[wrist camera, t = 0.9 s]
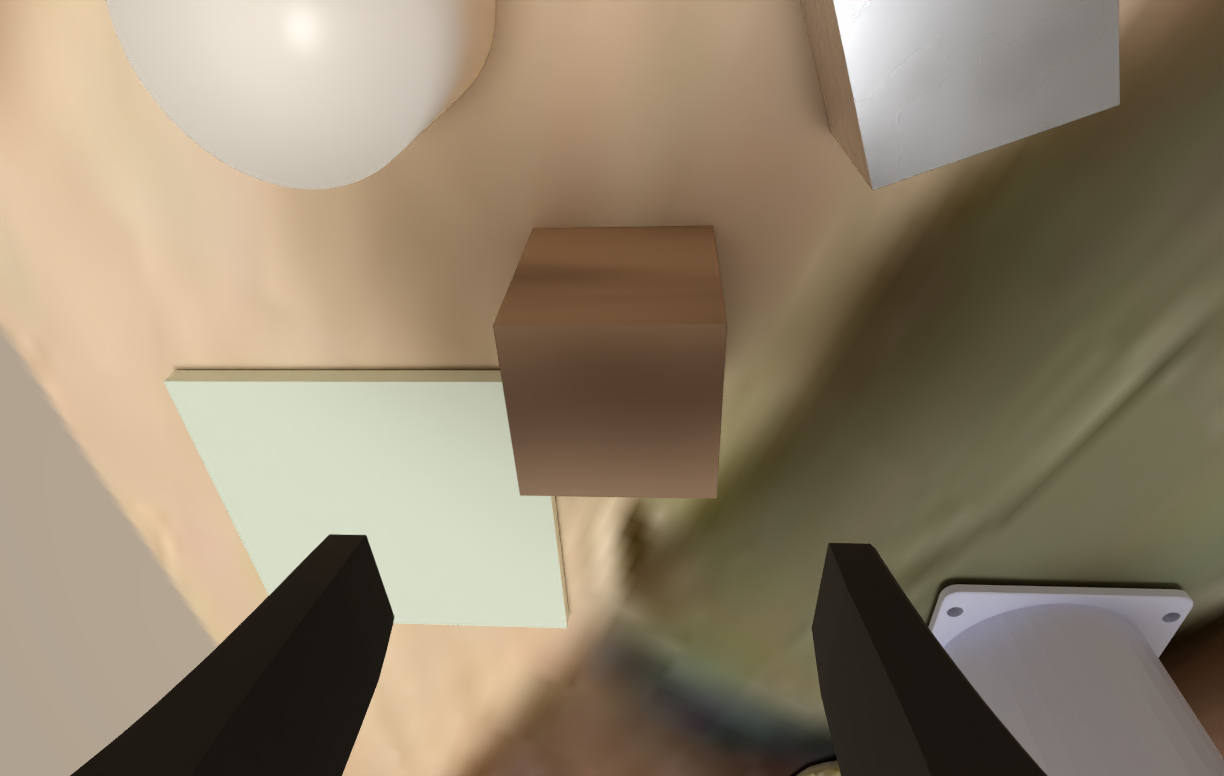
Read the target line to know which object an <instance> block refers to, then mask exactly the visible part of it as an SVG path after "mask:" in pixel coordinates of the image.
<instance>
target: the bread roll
mask: <svg viewBox="0 0 1224 776" xmlns="http://www.w3.org/2000/svg"><path fill="white" fill-rule="evenodd" d="M796 776H841V773H840V769H839V765H838V761H837V760H836V761H829V762H824V763H820V764H816V765H813V766H810V767H808V768H806V769H805V770H803V771H802V772H800V773H799V774H798V775H796Z"/></svg>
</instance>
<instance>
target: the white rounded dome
mask: <svg viewBox="0 0 1224 776" xmlns="http://www.w3.org/2000/svg"><path fill="white" fill-rule="evenodd" d="M106 2H107V6H108V11H109V14H110V17H111V20H112V23H113V26H114V29H115V32H116V34H117V37H118V39H119V41H120V43H121V46H122V48H123V50H124V52H125V54H126V57H127V59H128V60H129V62H130V64H131V66H132V67H133V69H134V71H135V73H136V74H137V76H138V78H139V80H140V81H141V82H142V84H143V85H144V87H145V88H146V90H147V91H148V92H149V94H150V95H151V97H152V98H153V99H154V101H155V102H156V103H157V104H158V105H159V107H160V108H161V109H162V110H163V111H164V113H165V114H166V115H167V116H168V117H169V118H170V119H171V120H172V121H173V122H174V123H175V124H176V125H177V126H178V127H179V128H180V129H181V130H182V131H183V132H184V133H185V134H186V135H187V136H188V137H189V138H191V139H192V140H193V141H194V142H195V143H197V144H198V145H199V146H200V147H201V148H203V149H204V150H205V151H207V152H208V153H210V154H211V155H213V156H214V157H216V158H217V159H219V160H220V161H222V162H223V163H225V164H227V165H229V166H231V167H233V168H234V169H236V170H238V171H240V172H242V173H245V174H247V175H249V176H252V177H254V178H256V179H259V180H262V181H265V182H269V183H272V184H275V185H279V186H284V187H290V188H296V189H313V190H318V189H329V188H336V187H341V186H345V185H349V184H352V183H355V182H357V181H360V180H362V179H365V178H367V177H369V176H370V175H372V174H374V173H375V172H377V171H379V170H380V169H382V168H383V167H384V166H385V165H387V164H388V163H389V162H390V161H391V160H393V159H394V158H395V157H396V156H397V155H398V154H399V153H400V152H401V151H402V150H403V149H405V148H406V147H407V146H408V145H409V144H410V143H411V142H412V141H413V140H414V139H415V138H416V137H417V136H418V135H419V134H421V133H422V132H423V131H424V130H425V129H426V128H427V127H428V126H429V125H430V124H431V123H432V122H433V121H434V120H435V119H437V118H438V117H439V116H440V115H441V114H442V113H443V112H444V111H445V110H446V109H447V108H448V107H449V106H450V105H451V104H453V103H454V102H455V101H456V100H457V99H458V98H459V97H460V96H461V95H462V94H463V93H464V92H465V91H466V90H467V89H468V88H469V87H470V85H471V84H472V83H473V82H474V81H475V79H476V77H477V76H478V74H479V73H480V71H481V70H482V68H483V65H484V63H485V61H486V59H487V57H488V54H489V51H490V47H491V44H492V41H493V35H494V29H495V21H496V0H106Z"/></svg>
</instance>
